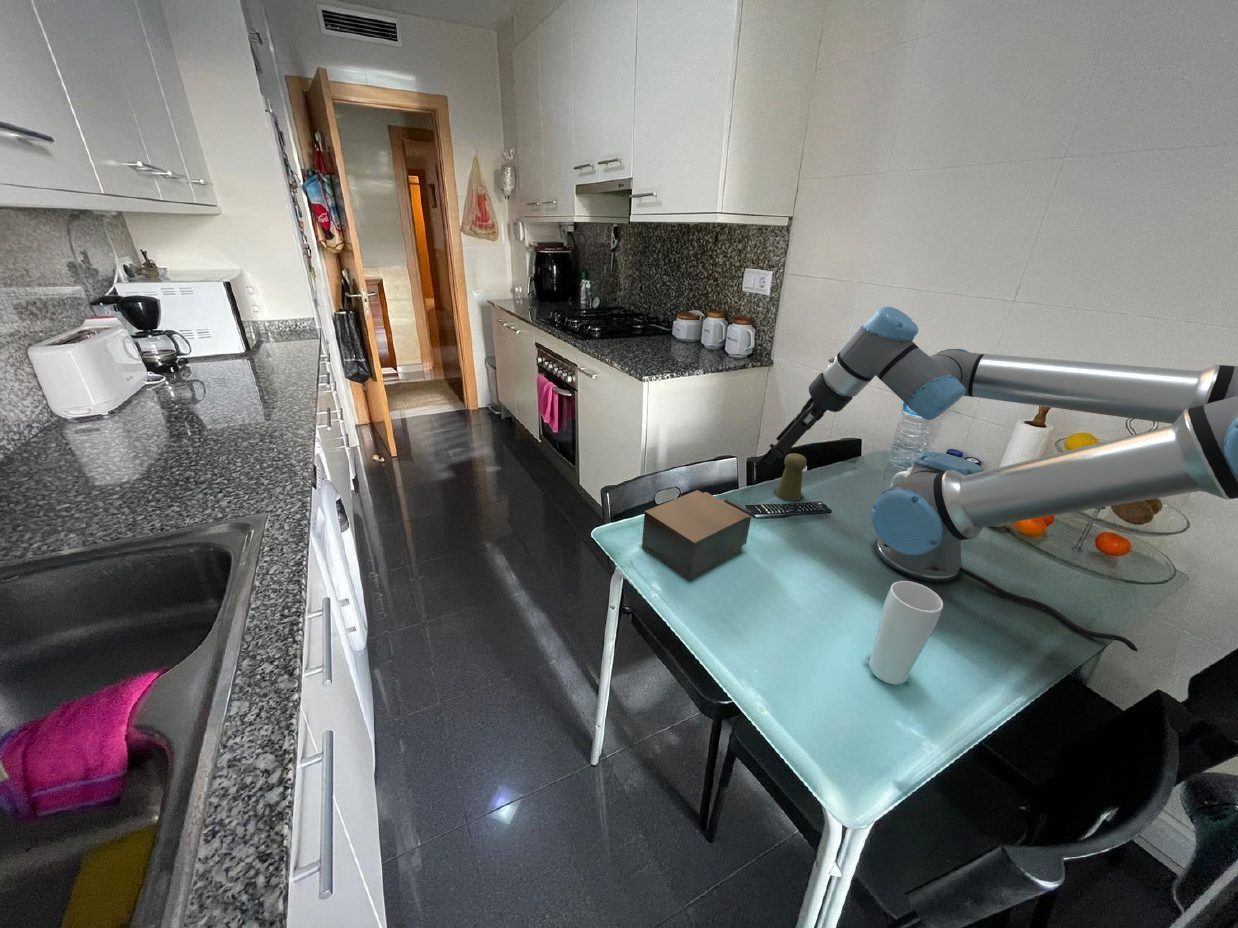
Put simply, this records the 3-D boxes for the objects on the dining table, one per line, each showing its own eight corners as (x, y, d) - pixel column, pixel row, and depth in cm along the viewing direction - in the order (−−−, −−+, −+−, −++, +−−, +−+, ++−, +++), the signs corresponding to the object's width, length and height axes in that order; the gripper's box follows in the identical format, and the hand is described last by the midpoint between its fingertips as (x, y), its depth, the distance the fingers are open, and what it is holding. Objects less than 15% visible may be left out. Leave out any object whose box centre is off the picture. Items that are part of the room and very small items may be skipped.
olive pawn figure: (802, 502, 124) (811, 462, 119) (776, 498, 125) (785, 459, 120) (799, 490, 129) (808, 452, 124) (775, 487, 130) (783, 449, 125)
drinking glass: (856, 671, 76) (883, 594, 70) (871, 648, 81) (898, 573, 74) (904, 698, 72) (937, 619, 66) (917, 672, 77) (949, 595, 70)
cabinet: (693, 523, 113) (697, 489, 109) (741, 552, 103) (748, 516, 100) (641, 546, 103) (644, 511, 100) (689, 580, 94) (694, 543, 90)
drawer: (715, 511, 116) (719, 486, 113) (759, 536, 107) (765, 509, 104) (655, 539, 105) (658, 511, 102) (699, 569, 96) (703, 539, 93)
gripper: (837, 351, 102) (776, 421, 117) (801, 396, 85) (735, 471, 100) (868, 374, 101) (801, 441, 116) (838, 423, 84) (764, 495, 98)
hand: (770, 455), depth 108 cm, fingers open, 13 cm apart
